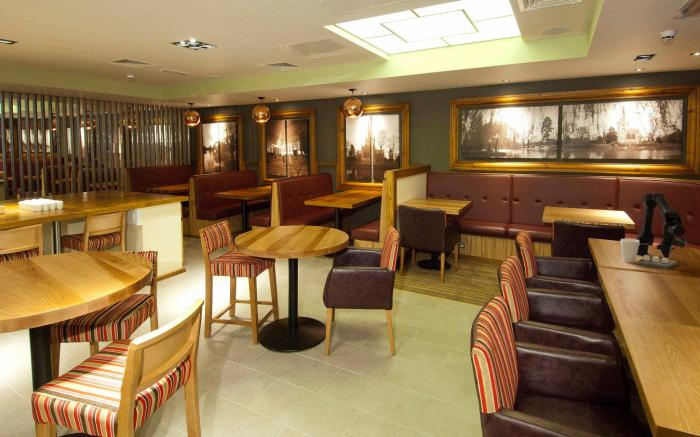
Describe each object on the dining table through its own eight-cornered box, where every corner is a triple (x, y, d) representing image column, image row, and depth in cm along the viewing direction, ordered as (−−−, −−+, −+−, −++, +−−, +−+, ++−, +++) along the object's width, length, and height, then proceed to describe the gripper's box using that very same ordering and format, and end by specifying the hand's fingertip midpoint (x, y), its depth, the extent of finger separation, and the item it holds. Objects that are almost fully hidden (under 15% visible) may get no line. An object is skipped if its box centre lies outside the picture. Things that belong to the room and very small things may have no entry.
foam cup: (632, 259, 263) (634, 238, 261) (641, 263, 254) (643, 241, 252) (616, 259, 264) (617, 238, 262) (624, 263, 255) (625, 241, 253)
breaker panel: (646, 259, 262) (646, 256, 262) (676, 264, 251) (676, 260, 250) (637, 264, 252) (637, 261, 252) (668, 269, 241) (668, 265, 240)
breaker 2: (662, 262, 248) (663, 257, 247) (668, 262, 246) (668, 258, 245) (661, 262, 246) (662, 258, 246) (667, 263, 244) (667, 259, 244)
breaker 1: (644, 259, 254) (644, 255, 254) (649, 260, 252) (650, 255, 252) (643, 260, 253) (643, 255, 252) (648, 260, 251) (648, 256, 250)
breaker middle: (653, 260, 251) (653, 256, 250) (658, 261, 249) (659, 257, 249) (652, 261, 249) (652, 257, 249) (657, 262, 247) (658, 257, 247)
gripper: (681, 237, 233) (679, 265, 235) (690, 232, 245) (688, 259, 247) (657, 234, 241) (655, 261, 243) (667, 230, 253) (664, 256, 255)
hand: (666, 259), depth 247 cm, fingers closed
